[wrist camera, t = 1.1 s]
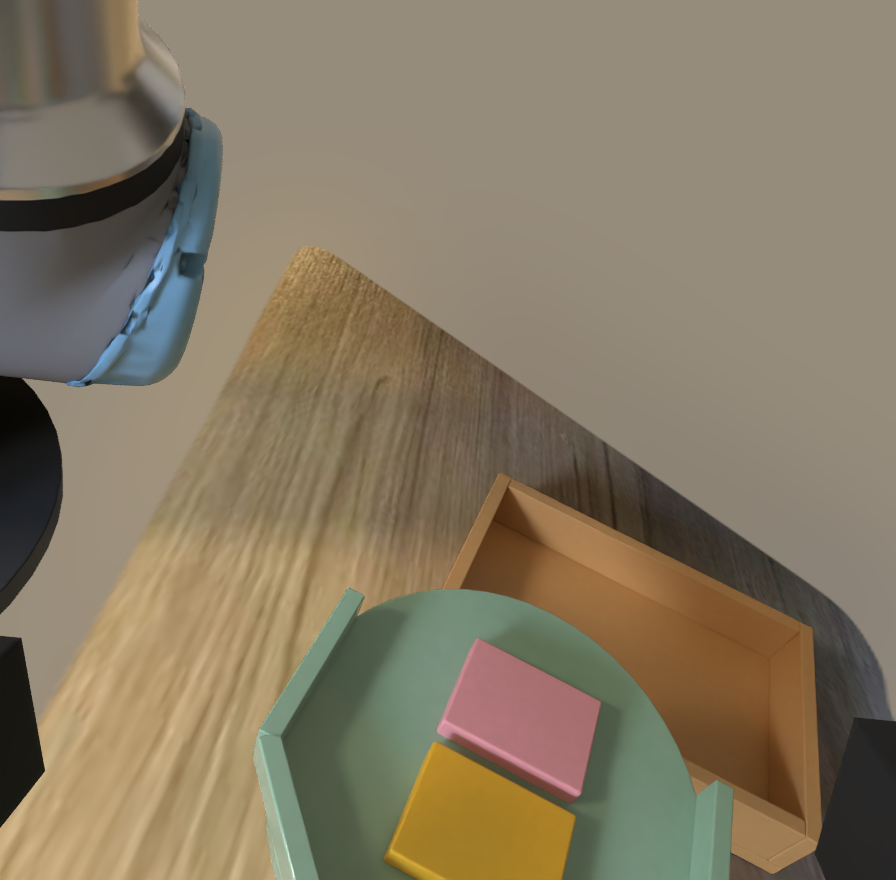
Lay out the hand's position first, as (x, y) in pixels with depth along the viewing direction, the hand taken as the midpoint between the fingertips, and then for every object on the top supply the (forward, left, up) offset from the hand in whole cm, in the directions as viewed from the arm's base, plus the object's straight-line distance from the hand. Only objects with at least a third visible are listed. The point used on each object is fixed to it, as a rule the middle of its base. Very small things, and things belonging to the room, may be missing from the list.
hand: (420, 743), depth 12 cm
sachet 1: (+3, +7, -9) cm, 12 cm away
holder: (+9, +20, -21) cm, 30 cm away
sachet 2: (+3, +3, -9) cm, 10 cm away
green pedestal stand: (+3, +5, -21) cm, 21 cm away
